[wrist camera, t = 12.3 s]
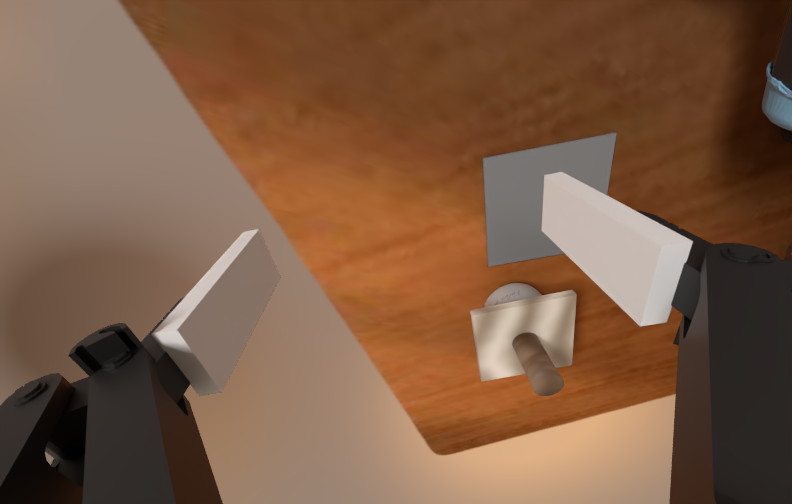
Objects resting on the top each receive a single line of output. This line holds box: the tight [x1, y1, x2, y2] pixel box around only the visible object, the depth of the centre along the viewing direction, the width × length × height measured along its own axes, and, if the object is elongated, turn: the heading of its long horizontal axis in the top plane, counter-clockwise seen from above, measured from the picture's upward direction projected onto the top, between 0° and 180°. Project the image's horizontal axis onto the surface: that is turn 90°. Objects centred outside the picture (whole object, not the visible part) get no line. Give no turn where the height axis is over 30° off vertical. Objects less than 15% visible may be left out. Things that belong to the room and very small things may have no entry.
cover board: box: [470, 290, 577, 396], centre depth 46 cm, size 15×15×9 cm
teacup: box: [484, 283, 543, 307], centre depth 53 cm, size 14×11×8 cm
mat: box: [483, 133, 617, 267], centre depth 47 cm, size 18×18×1 cm
